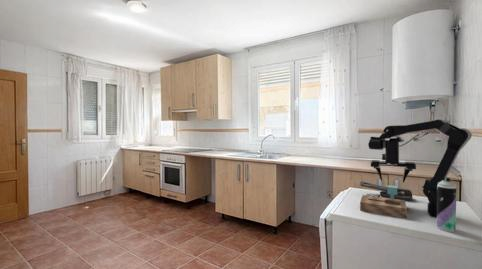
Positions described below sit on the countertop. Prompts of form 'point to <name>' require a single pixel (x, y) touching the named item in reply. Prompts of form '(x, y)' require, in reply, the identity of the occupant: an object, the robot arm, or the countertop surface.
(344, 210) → the countertop surface
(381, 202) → the keyhole plate
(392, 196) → the teal peg
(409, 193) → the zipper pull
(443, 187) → the spray can
